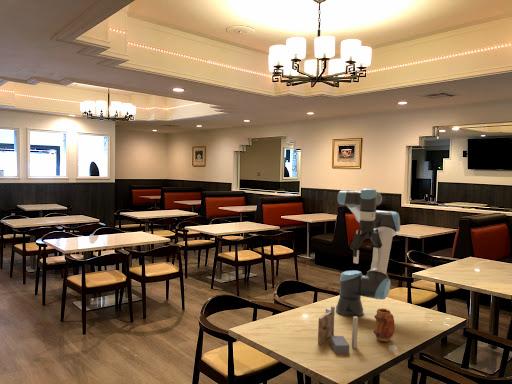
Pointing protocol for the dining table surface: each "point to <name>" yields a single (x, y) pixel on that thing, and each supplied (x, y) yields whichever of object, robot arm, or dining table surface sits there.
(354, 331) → the doorframe
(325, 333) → the door
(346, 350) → the block
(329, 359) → the dining table surface
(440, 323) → the dining table surface
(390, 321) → the mug
